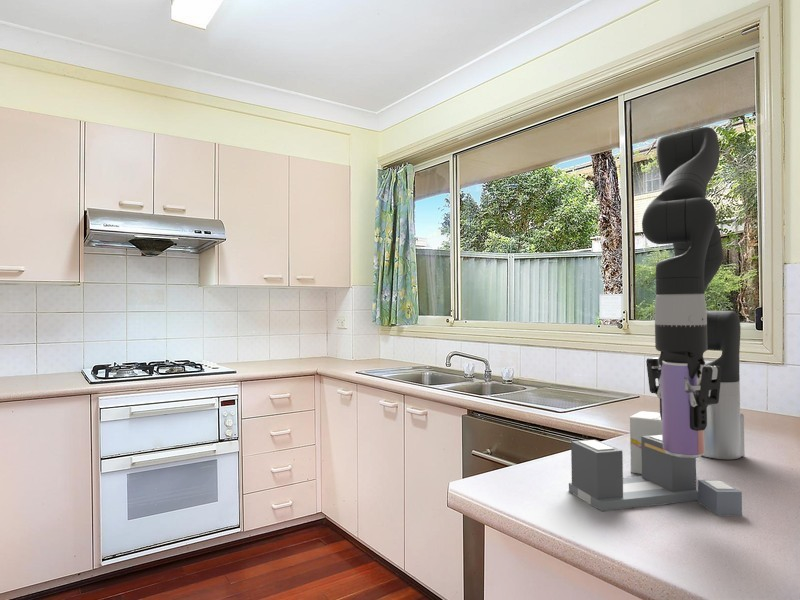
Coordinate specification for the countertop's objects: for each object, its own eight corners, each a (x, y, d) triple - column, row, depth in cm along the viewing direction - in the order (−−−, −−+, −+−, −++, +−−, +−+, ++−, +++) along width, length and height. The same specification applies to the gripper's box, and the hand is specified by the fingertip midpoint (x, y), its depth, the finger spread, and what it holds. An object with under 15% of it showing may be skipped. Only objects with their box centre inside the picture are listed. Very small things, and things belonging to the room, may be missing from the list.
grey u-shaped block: (660, 482, 103) (659, 432, 104) (700, 500, 94) (699, 445, 94) (568, 491, 99) (568, 438, 99) (601, 510, 89) (600, 453, 89)
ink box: (641, 463, 116) (640, 409, 116) (683, 470, 111) (682, 414, 111) (629, 472, 109) (628, 416, 110) (674, 480, 104) (673, 421, 104)
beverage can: (682, 460, 82) (680, 364, 82) (654, 450, 88) (652, 360, 88) (713, 456, 84) (711, 362, 84) (683, 447, 90) (682, 358, 90)
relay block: (698, 502, 93) (697, 478, 93) (721, 502, 93) (721, 478, 93) (717, 516, 87) (716, 490, 87) (742, 516, 87) (741, 490, 87)
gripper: (736, 323, 80) (739, 434, 80) (668, 320, 94) (669, 414, 94) (695, 324, 78) (697, 438, 78) (631, 321, 92) (633, 417, 92)
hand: (682, 425), depth 86 cm, fingers closed on beverage can, 6 cm apart
